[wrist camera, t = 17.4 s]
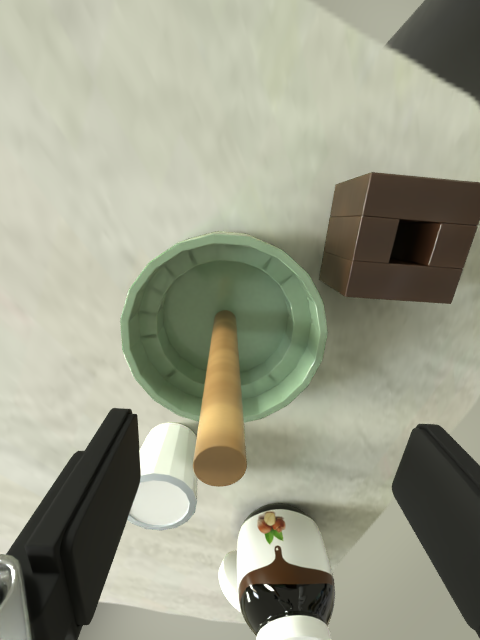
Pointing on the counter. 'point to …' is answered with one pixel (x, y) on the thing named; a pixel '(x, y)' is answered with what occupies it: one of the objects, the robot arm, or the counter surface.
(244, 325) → the bowl
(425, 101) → the counter surface
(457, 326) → the counter surface
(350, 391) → the counter surface
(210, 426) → the stirring stick
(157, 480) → the white cup
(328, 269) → the stick holder
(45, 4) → the counter surface
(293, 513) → the spread jar
